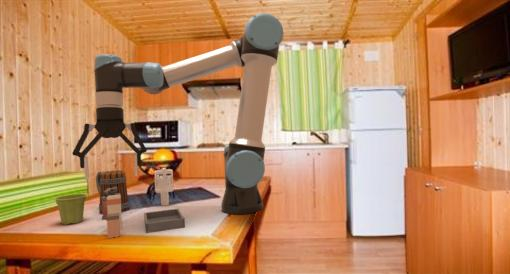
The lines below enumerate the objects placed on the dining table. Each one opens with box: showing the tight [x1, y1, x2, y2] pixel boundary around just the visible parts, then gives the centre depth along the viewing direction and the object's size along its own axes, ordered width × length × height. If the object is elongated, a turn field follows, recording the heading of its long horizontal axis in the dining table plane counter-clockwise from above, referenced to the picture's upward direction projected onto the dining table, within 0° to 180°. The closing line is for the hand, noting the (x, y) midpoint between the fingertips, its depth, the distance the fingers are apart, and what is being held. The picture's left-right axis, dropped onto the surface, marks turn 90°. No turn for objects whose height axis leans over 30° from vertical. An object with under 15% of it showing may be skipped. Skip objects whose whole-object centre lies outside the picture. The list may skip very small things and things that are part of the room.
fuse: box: [107, 194, 123, 230], centre depth 94 cm, size 4×4×10 cm
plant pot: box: [54, 193, 88, 225], centre depth 103 cm, size 9×9×9 cm
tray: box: [143, 208, 186, 234], centre depth 97 cm, size 11×14×3 cm
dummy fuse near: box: [105, 213, 121, 239], centre depth 87 cm, size 3×3×6 cm
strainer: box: [154, 167, 174, 207], centre depth 124 cm, size 7×7×15 cm
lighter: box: [101, 187, 120, 221], centre depth 109 cm, size 8×3×10 cm, turn 168°
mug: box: [95, 169, 130, 215], centre depth 119 cm, size 16×11×15 cm
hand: (112, 177), depth 93 cm, fingers open, 13 cm apart
